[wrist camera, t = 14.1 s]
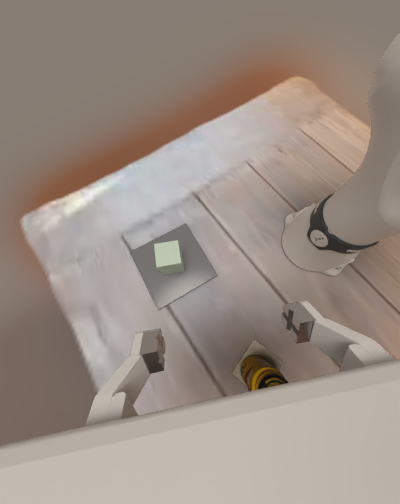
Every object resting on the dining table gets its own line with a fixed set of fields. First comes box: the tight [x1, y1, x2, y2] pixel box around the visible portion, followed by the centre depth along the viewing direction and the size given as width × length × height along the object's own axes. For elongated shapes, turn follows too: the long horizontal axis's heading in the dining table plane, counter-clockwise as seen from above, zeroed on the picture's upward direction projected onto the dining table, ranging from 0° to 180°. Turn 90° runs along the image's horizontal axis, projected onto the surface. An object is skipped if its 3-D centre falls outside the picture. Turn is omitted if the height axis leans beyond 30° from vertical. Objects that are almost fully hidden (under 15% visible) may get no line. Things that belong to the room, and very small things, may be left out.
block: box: [154, 240, 184, 275], centre depth 41 cm, size 5×5×8 cm
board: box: [130, 223, 217, 310], centre depth 45 cm, size 16×16×1 cm
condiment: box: [232, 339, 288, 391], centre depth 33 cm, size 7×8×12 cm
